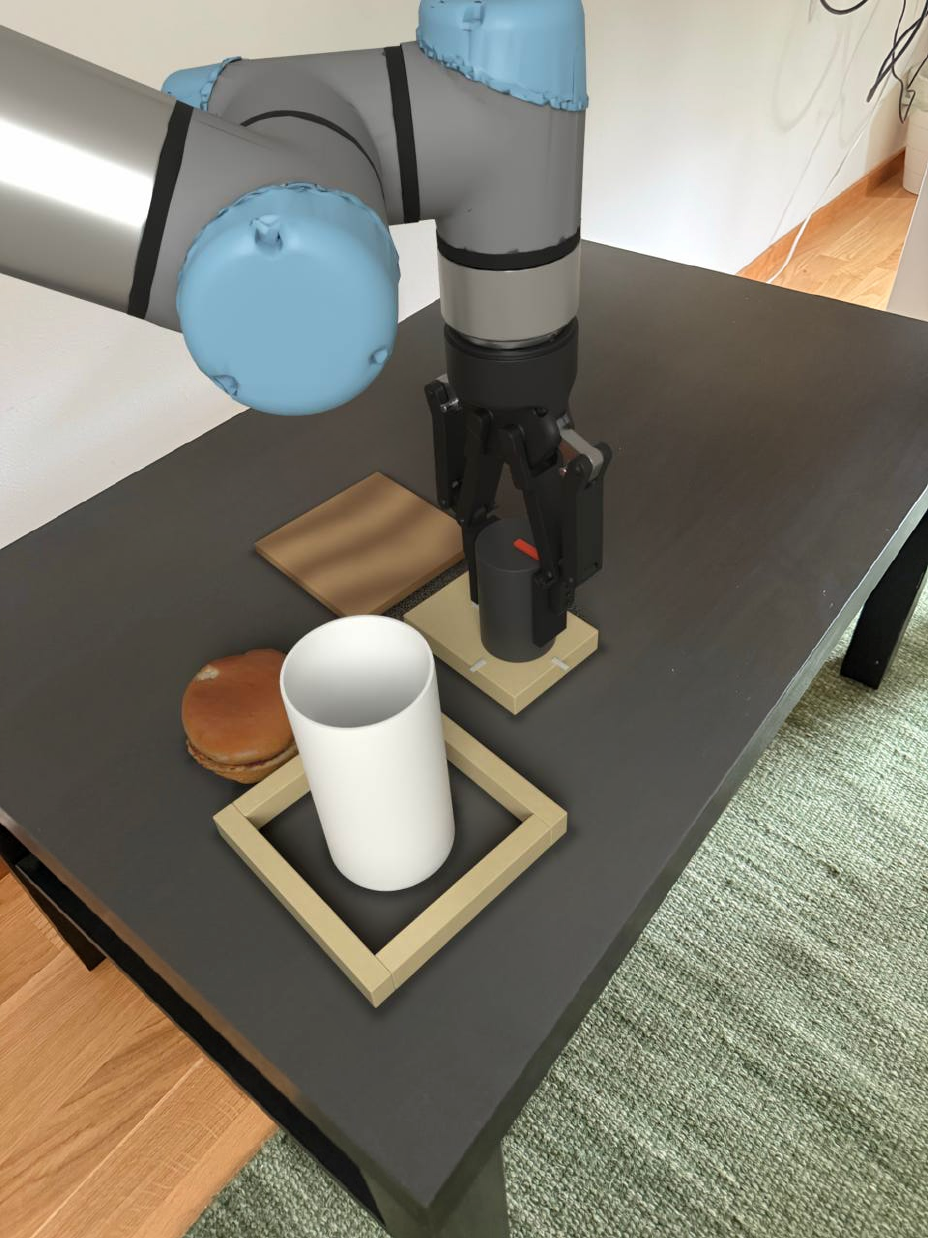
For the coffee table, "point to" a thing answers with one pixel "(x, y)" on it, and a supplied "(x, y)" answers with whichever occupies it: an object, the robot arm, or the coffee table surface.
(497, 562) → the burner knob
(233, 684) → the burger
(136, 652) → the coffee table surface
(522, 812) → the square frame
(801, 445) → the coffee table surface
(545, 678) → the panel
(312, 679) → the cup
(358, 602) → the trivet
